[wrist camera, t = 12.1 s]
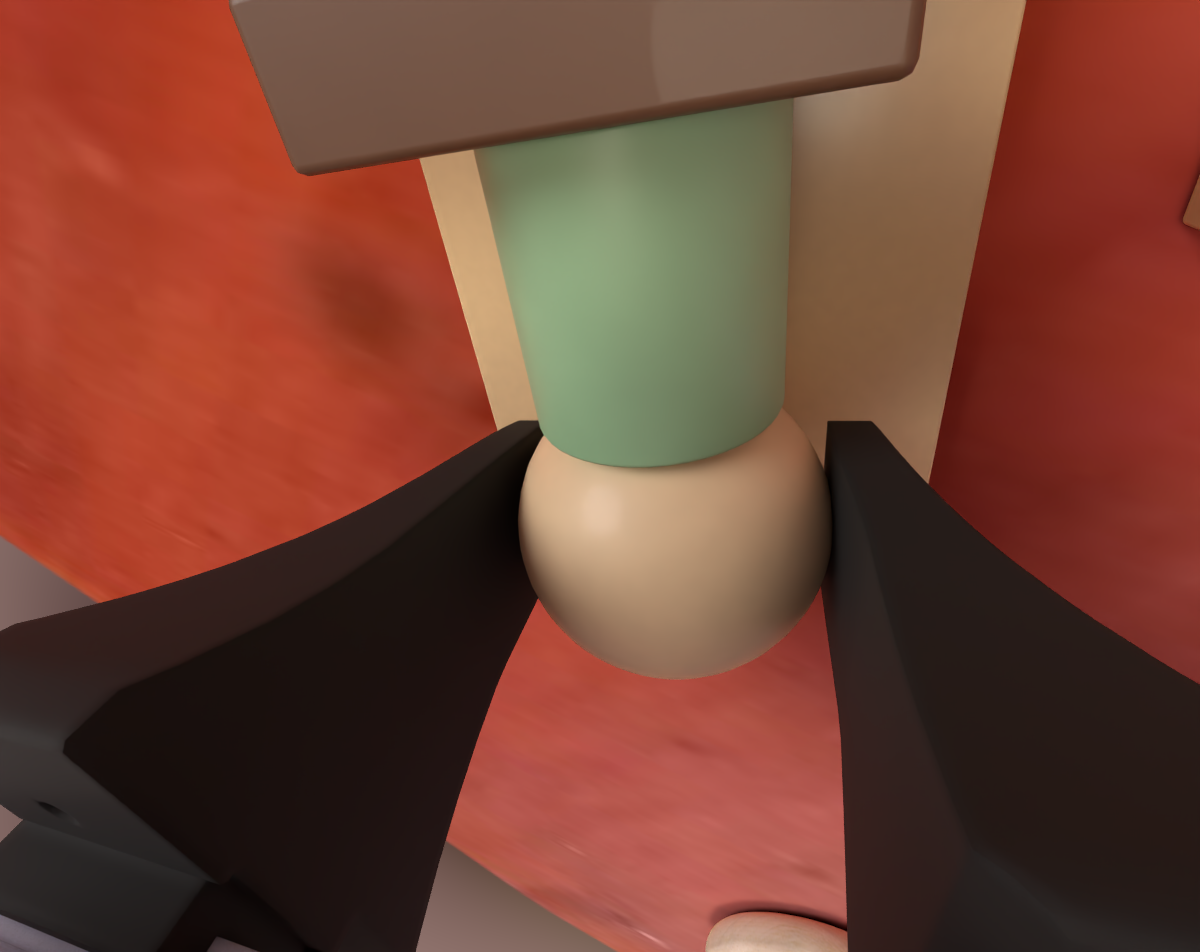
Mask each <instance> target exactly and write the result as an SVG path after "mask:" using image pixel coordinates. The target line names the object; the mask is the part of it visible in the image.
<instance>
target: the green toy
mask: <svg viewBox="0 0 1200 952" xmlns="http://www.w3.org/2000/svg"><path fill="white" fill-rule="evenodd" d="M926 2H927V0H229V7H230V10H231V13H232V15H233V18H234V20H235V23H236V25H237V28H238V30H239V33H240V35H241V38H242V41H243V43H244V46H245V48H246V51H247V53H248V56H249V58H250V61H251V63H252V66H253V68H254V71H255V73H256V76H257V78H258V81H259V83H260V86H261V88H262V91H263V93H264V96H265V98H266V101H267V103H268V106H269V108H270V111H271V113H272V116H273V118H274V121H275V123H276V126H277V128H278V131H279V133H280V136H281V138H282V141H283V143H284V146H285V148H286V151H287V153H288V156H289V158H290V161H291V163H292V166H293V167H294V168H295V170H296V171H297V172H298V173H300V174H304V175H307V176H313V175H319V174H325V173H332V172H338V171H344V170H350V169H356V168H363V167H369V166H375V165H381V164H387V163H394V162H400V161H406V160H412V159H418V158H425V157H431V156H437V155H443V154H449V153H456V152H462V151H468V150H473V151H474V155H475V159H476V163H477V167H478V172H479V176H480V180H481V184H482V188H483V192H484V197H485V201H486V205H487V209H488V213H489V217H490V221H491V226H492V230H493V234H494V238H495V242H496V246H497V251H498V255H499V259H500V263H501V267H502V271H503V275H504V280H505V284H506V288H507V292H508V296H509V300H510V305H511V309H512V313H513V317H514V321H515V325H516V329H517V334H518V338H519V342H520V346H521V350H522V354H523V359H524V363H525V367H526V371H527V375H528V379H529V383H530V388H531V392H532V396H533V400H534V404H535V408H536V412H537V417H538V421H539V425H540V429H541V430H542V432H543V434H544V436H543V437H542V439H541V440H540V442H539V444H538V446H537V448H536V450H535V452H534V454H533V456H532V458H531V460H530V462H529V464H528V468H527V471H526V475H525V478H524V482H523V485H522V489H521V492H520V502H519V513H518V530H519V541H520V549H521V553H522V558H523V562H524V565H525V568H526V571H527V574H528V577H529V579H530V582H531V585H532V587H533V589H534V591H535V592H536V594H537V596H538V598H539V600H540V601H541V603H542V605H543V607H544V608H545V610H546V611H547V612H548V614H549V615H550V617H551V618H552V619H553V620H554V621H555V623H556V624H557V625H558V626H559V627H560V628H561V629H562V630H563V631H564V632H565V633H566V634H567V635H568V636H569V637H570V638H571V639H572V640H573V641H574V642H575V643H576V644H578V645H579V646H580V647H582V648H583V649H584V650H586V651H587V652H589V653H590V654H592V655H593V656H595V657H597V658H599V659H600V660H602V661H604V662H606V663H608V664H610V665H613V666H615V667H617V668H620V669H623V670H626V671H629V672H632V673H635V674H639V675H643V676H648V677H654V678H661V679H695V678H700V677H706V676H711V675H716V674H720V673H723V672H727V671H730V670H732V669H735V668H737V667H740V666H742V665H744V664H746V663H748V662H750V661H752V660H754V659H756V658H757V657H759V656H761V655H762V654H764V653H766V652H767V651H768V650H769V649H771V648H772V647H773V646H774V645H775V644H777V643H778V642H779V641H780V640H782V639H783V638H784V637H785V636H787V635H788V633H789V632H790V631H791V630H792V629H793V628H794V627H795V626H796V624H797V623H798V622H799V621H800V619H801V618H802V617H803V616H804V614H805V613H806V612H807V610H808V608H809V607H810V605H811V604H812V602H813V600H814V598H815V596H816V594H817V592H818V590H819V588H820V586H821V584H822V581H823V579H824V576H825V574H826V570H827V566H828V563H829V559H830V553H831V547H832V528H833V523H832V508H831V495H830V490H829V485H828V480H827V477H826V475H825V472H824V469H823V466H822V464H821V461H820V459H819V457H818V455H817V453H816V451H815V449H814V448H813V446H812V444H811V442H810V440H809V438H808V437H807V436H806V434H805V433H804V432H803V430H802V429H801V428H800V426H799V425H798V424H797V423H796V421H795V420H794V419H793V418H792V417H791V416H790V415H789V414H788V413H787V412H786V411H785V410H784V409H783V408H782V406H783V402H784V397H785V367H786V333H787V299H788V266H789V232H790V198H791V165H792V131H793V98H796V97H802V96H808V95H815V94H821V93H827V92H833V91H839V90H846V89H852V88H858V87H864V86H870V85H877V84H883V83H889V82H895V81H900V80H901V79H903V78H905V77H907V76H908V75H910V74H912V73H913V71H914V68H915V66H916V64H917V62H918V60H919V56H920V49H921V41H922V33H923V25H924V17H925V10H926Z"/></svg>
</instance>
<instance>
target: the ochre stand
mask: <svg viewBox="0 0 1200 952" xmlns="http://www.w3.org/2000/svg"><path fill="white" fill-rule="evenodd" d="M1183 224H1186V225H1188V226H1190V227H1193V228H1195V229H1197V230H1199V231H1200V175H1199V178H1198V181H1197V183H1196V186H1195V188H1194V191H1193V194H1192V196H1191V199H1190V201H1189V204H1188V207H1187V209H1186V212H1185V215H1184V217H1183Z"/></svg>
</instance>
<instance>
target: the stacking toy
mask: <svg viewBox="0 0 1200 952" xmlns="http://www.w3.org/2000/svg"><path fill="white" fill-rule="evenodd" d="M706 952H848V939H847V931H844V930H842V929H839V928H837V927H834V926H831V925H828V924H825V923H822V922H818V921H814V920H811V919H807V918H803V917H798V916H793V915H787V914H782V913H773V912H745V913H738V914H734V915H730V916H728V917H726V918H724V919H722V920H720V921H719V922H718V923H717V924H715V926H714V927H713V928H712V929H711V931H710V933H709V936H708V938H707V942H706Z"/></svg>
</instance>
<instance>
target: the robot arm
mask: <svg viewBox="0 0 1200 952" xmlns="http://www.w3.org/2000/svg"><path fill="white" fill-rule="evenodd" d="M543 436H544V434H543V432H542V430H541V429H540V425H539V421H538V420H519V421H516V422H514V423H512V424H510V425H508V426H506V427H504V428H502V429H500V430H498V431H496V432H494V433H493V434H491V435H489V436H487V437H486V438H484V439H482V440H480V441H479V442H477V443H475V444H474V445H472V446H470V447H469V448H467V449H465V450H464V451H462V452H460V453H459V454H457V455H455V456H454V457H452V458H450V459H449V460H447V461H445V462H444V463H442V464H440V465H439V466H437V467H435V468H434V469H432V470H430V471H429V472H427V473H425V474H423V475H422V476H420V477H418V478H416V479H414V480H413V481H411V482H409V483H407V484H405V485H404V486H402V487H400V488H398V489H396V490H395V491H393V492H391V493H389V494H387V495H385V496H384V497H382V498H380V499H378V500H376V501H375V502H373V503H371V504H369V505H367V506H365V507H363V508H361V509H359V510H357V511H355V512H353V513H351V514H349V515H347V516H345V517H343V518H341V519H338V520H336V521H334V522H332V523H330V524H327V525H325V526H323V527H321V528H319V529H316V530H314V531H312V532H310V533H307V534H305V535H303V536H300V537H298V538H296V539H293V540H290V541H288V542H285V543H283V544H280V545H277V546H275V547H272V548H270V549H267V550H264V551H262V552H259V553H257V554H254V555H252V556H249V557H246V558H244V559H241V560H239V561H236V562H233V563H231V564H228V565H225V566H222V567H219V568H216V569H213V570H210V571H207V572H204V573H201V574H198V575H195V576H192V577H189V578H186V579H183V580H179V581H176V582H173V583H169V584H166V585H163V586H160V587H156V588H153V589H150V590H146V591H143V592H139V593H136V594H132V595H129V596H125V597H122V598H118V599H114V600H110V601H106V602H102V603H98V604H95V605H90V606H86V607H82V608H79V609H74V610H70V611H66V612H63V613H59V614H55V615H51V616H47V617H43V618H39V619H34V620H30V621H26V622H21V623H17V624H14V625H12V626H10V627H8V628H6V629H4V630H2V631H0V804H1V805H2V806H3V807H5V808H6V809H8V810H9V811H11V812H12V813H13V814H15V815H16V816H18V817H19V818H21V819H23V821H21V822H20V823H19V825H17V826H16V827H15V828H14V829H13V830H12V831H11V832H10V834H8V835H7V837H5V838H4V839H3V840H2V841H1V842H0V952H416V948H417V943H418V940H419V936H420V932H421V928H422V925H423V921H424V917H425V913H426V909H427V905H428V902H429V898H430V894H431V891H432V887H433V883H434V879H435V875H436V871H437V868H438V864H439V861H440V857H441V854H442V851H443V847H444V844H445V841H446V837H447V834H448V831H449V827H450V824H451V820H452V817H453V814H454V810H455V807H456V804H457V800H458V797H459V794H460V791H461V788H462V785H463V782H464V779H465V776H466V773H467V770H468V766H469V763H470V760H471V757H472V754H473V751H474V748H475V745H476V742H477V739H478V736H479V734H480V731H481V728H482V725H483V722H484V720H485V717H486V714H487V711H488V709H489V706H490V703H491V700H492V697H493V695H494V692H495V689H496V686H497V684H498V682H499V679H500V677H501V675H502V672H503V670H504V668H505V666H506V663H507V661H508V659H509V657H510V655H511V653H512V651H513V649H514V647H515V645H516V642H517V640H518V638H519V636H520V634H521V632H522V630H523V628H524V626H525V624H526V622H527V620H528V618H529V616H530V614H531V612H532V610H533V608H534V606H535V604H536V602H537V599H538V596H537V594H536V592H535V591H534V589H533V587H532V585H531V582H530V579H529V577H528V574H527V571H526V568H525V565H524V562H523V558H522V553H521V549H520V541H519V530H518V513H519V502H520V492H521V489H522V485H523V482H524V478H525V475H526V471H527V468H528V464H529V462H530V460H531V458H532V456H533V454H534V452H535V450H536V448H537V446H538V444H539V442H540V440H541V439H542V437H543ZM824 472H825V475H826V477H827V480H828V485H829V490H830V495H831V508H832V523H833V528H832V547H831V553H830V559H829V563H828V566H827V570H826V574H825V576H824V579H823V581H822V584H821V590H822V598H823V605H824V612H825V619H826V627H827V634H828V641H829V648H830V655H831V662H832V669H833V677H834V684H835V691H836V698H837V705H838V714H839V724H840V735H841V753H842V779H843V805H844V835H845V866H846V900H847V939H848V952H1200V685H1199V684H1198V683H1196V682H1194V681H1192V680H1191V679H1189V678H1187V677H1186V676H1184V675H1182V674H1181V673H1179V672H1177V671H1175V670H1174V669H1172V668H1170V667H1169V666H1167V665H1165V664H1164V663H1162V662H1160V661H1159V660H1157V659H1156V658H1154V657H1153V656H1151V655H1149V654H1148V653H1146V652H1145V651H1143V650H1142V649H1140V648H1138V647H1137V646H1135V645H1134V644H1132V643H1131V642H1129V641H1127V640H1126V639H1124V638H1123V637H1121V636H1120V635H1118V634H1116V633H1115V632H1113V631H1112V630H1110V629H1109V628H1107V627H1105V626H1104V625H1102V624H1101V623H1099V622H1098V621H1096V620H1094V619H1093V618H1092V617H1090V616H1089V615H1087V614H1086V613H1084V612H1083V611H1081V610H1080V609H1078V608H1077V607H1075V606H1074V605H1072V604H1071V603H1070V602H1068V601H1067V600H1065V599H1064V598H1062V597H1061V596H1060V595H1058V594H1057V593H1056V592H1054V591H1053V590H1051V589H1050V588H1049V587H1047V586H1046V585H1045V584H1043V583H1042V582H1041V581H1039V580H1038V579H1037V578H1035V577H1034V576H1033V575H1031V574H1030V573H1029V572H1027V571H1026V570H1025V569H1023V568H1022V567H1021V566H1019V565H1018V564H1017V563H1015V562H1014V561H1013V560H1011V559H1010V558H1009V557H1008V556H1006V555H1005V554H1004V553H1003V552H1001V551H1000V550H999V549H998V548H996V547H995V546H994V545H993V544H992V543H990V542H989V541H988V540H987V539H986V538H985V537H983V536H982V535H981V534H980V533H979V532H978V531H977V530H976V529H974V528H973V527H972V526H971V525H970V524H969V523H968V522H966V521H965V520H964V519H963V518H962V517H961V516H960V515H959V514H958V513H957V512H956V511H955V510H954V509H952V508H951V507H950V506H949V505H948V504H947V503H946V502H945V501H944V500H943V499H942V498H941V497H940V495H939V494H938V493H937V492H936V491H935V490H934V489H933V488H932V487H931V486H930V485H929V484H928V483H927V482H926V481H925V480H924V479H923V478H922V477H921V476H920V475H919V474H918V473H917V472H916V471H915V470H914V468H913V467H912V466H911V465H910V464H909V463H908V462H907V461H906V459H905V458H904V457H903V456H902V455H901V454H900V453H899V451H898V450H897V449H896V448H895V447H894V446H893V444H892V443H891V442H890V441H889V440H888V439H887V437H886V436H885V435H884V434H883V433H882V431H881V430H880V429H879V428H878V427H877V426H876V425H875V424H874V423H873V422H872V421H827V433H826V446H825V459H824Z"/></svg>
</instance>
